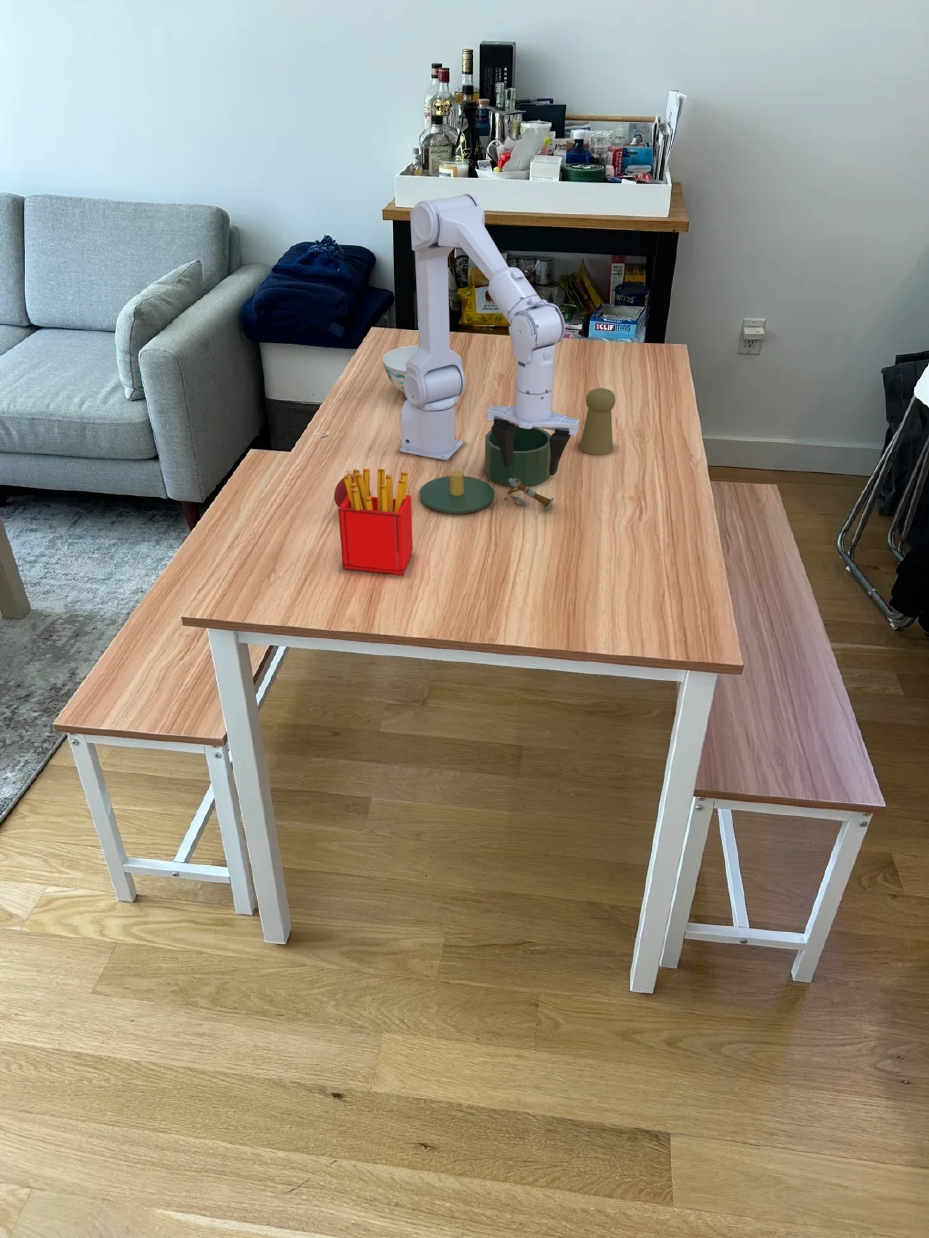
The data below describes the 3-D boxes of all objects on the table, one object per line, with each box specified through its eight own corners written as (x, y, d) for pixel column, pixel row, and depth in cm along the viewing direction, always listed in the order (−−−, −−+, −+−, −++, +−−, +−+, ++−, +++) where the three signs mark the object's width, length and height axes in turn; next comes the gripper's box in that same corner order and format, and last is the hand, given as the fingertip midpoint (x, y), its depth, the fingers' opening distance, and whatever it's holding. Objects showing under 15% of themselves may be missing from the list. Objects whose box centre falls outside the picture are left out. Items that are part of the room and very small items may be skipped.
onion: (377, 510, 157) (375, 466, 152) (363, 527, 152) (360, 482, 148) (345, 505, 158) (341, 461, 154) (330, 521, 154) (325, 476, 149)
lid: (407, 508, 158) (406, 482, 155) (438, 476, 167) (437, 451, 164) (477, 522, 154) (477, 496, 151) (504, 489, 163) (505, 464, 161)
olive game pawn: (611, 456, 174) (617, 398, 167) (578, 453, 175) (582, 396, 168) (614, 442, 179) (619, 385, 172) (581, 439, 180) (586, 383, 173)
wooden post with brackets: (501, 493, 160) (512, 472, 157) (542, 517, 160) (555, 497, 157) (498, 498, 158) (509, 477, 156) (540, 522, 159) (552, 502, 156)
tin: (474, 480, 166) (475, 445, 162) (498, 453, 174) (499, 420, 171) (537, 492, 162) (539, 457, 159) (558, 464, 171) (560, 431, 167)
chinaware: (471, 390, 198) (471, 354, 194) (430, 415, 188) (430, 377, 183) (412, 376, 205) (410, 340, 200) (369, 399, 194) (367, 362, 190)
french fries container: (355, 547, 148) (349, 464, 140) (413, 553, 146) (411, 469, 138) (342, 571, 142) (335, 486, 134) (402, 577, 141) (399, 492, 132)
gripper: (480, 389, 146) (479, 470, 153) (572, 404, 141) (566, 487, 149) (497, 373, 151) (495, 453, 159) (585, 387, 146) (579, 468, 154)
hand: (530, 468), depth 154 cm, fingers open, 7 cm apart
